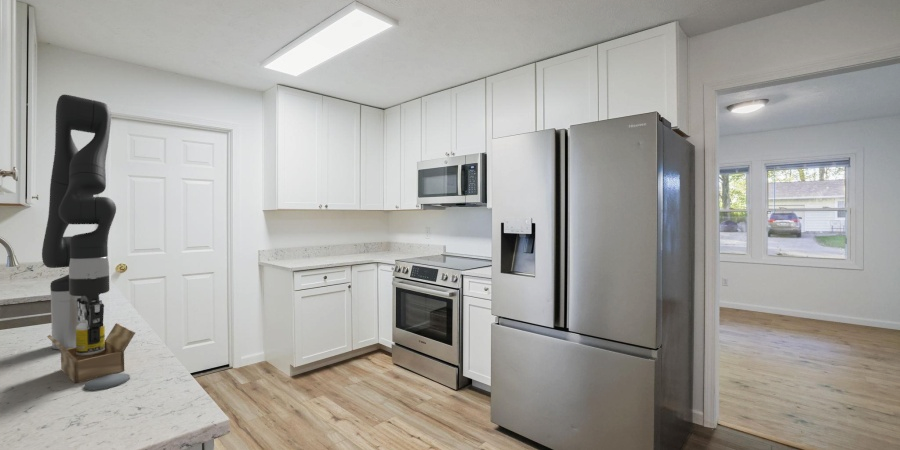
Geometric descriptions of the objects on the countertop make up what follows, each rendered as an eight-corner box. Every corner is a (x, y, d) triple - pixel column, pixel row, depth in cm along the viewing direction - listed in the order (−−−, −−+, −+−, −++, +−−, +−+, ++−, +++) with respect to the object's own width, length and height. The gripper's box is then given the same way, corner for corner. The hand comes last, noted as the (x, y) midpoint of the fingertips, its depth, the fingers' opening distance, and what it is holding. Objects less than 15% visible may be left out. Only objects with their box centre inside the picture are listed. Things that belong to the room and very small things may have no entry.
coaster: (80, 384, 91) (80, 381, 91) (123, 373, 98) (123, 370, 98) (90, 393, 87) (89, 390, 87) (134, 381, 93) (134, 378, 93)
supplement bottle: (87, 356, 97) (86, 317, 96) (70, 355, 98) (69, 316, 97) (110, 349, 102) (109, 312, 102) (94, 347, 103) (93, 311, 103)
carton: (47, 372, 98) (46, 335, 98) (119, 356, 110) (118, 322, 109) (60, 387, 90) (59, 346, 90) (136, 367, 101) (135, 331, 101)
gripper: (62, 273, 100) (64, 338, 101) (76, 280, 92) (77, 351, 92) (101, 270, 106) (102, 332, 107) (117, 276, 98) (118, 342, 98)
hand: (90, 340), depth 100 cm, fingers closed on supplement bottle, 5 cm apart
